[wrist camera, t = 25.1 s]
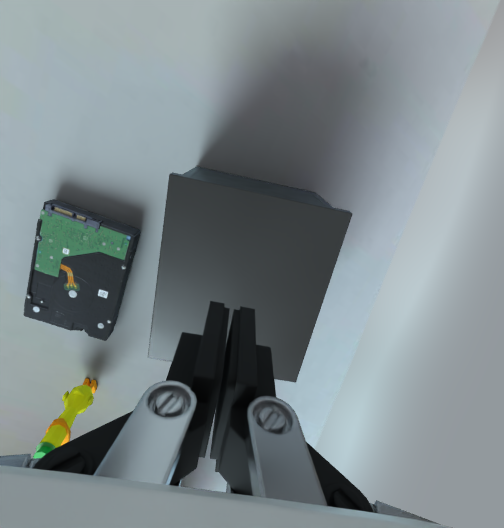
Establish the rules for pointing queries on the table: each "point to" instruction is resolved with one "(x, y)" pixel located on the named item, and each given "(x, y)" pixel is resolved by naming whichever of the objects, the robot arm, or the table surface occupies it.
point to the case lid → (244, 265)
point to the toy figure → (67, 417)
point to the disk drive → (79, 269)
